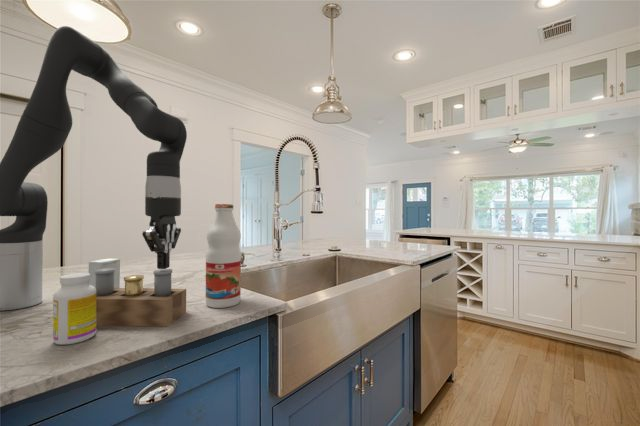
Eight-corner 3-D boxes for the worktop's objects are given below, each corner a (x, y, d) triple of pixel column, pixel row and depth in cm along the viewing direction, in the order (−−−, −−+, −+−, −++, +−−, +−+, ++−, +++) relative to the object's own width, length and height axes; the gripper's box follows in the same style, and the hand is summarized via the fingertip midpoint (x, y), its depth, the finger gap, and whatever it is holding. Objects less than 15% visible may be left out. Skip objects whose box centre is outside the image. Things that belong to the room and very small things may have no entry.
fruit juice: (244, 298, 85) (245, 204, 85) (235, 309, 76) (236, 204, 75) (212, 297, 85) (213, 204, 85) (199, 308, 76) (200, 203, 75)
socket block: (74, 325, 64) (74, 298, 64) (104, 311, 73) (104, 287, 73) (167, 326, 64) (167, 299, 64) (186, 312, 73) (186, 288, 73)
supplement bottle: (104, 331, 61) (104, 271, 61) (79, 346, 54) (79, 279, 54) (72, 331, 61) (72, 271, 61) (43, 346, 54) (43, 279, 54)
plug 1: (89, 301, 66) (90, 271, 66) (103, 296, 70) (103, 268, 70) (106, 302, 66) (107, 271, 66) (119, 296, 70) (119, 268, 70)
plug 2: (149, 302, 66) (149, 272, 66) (159, 297, 70) (159, 268, 70) (166, 302, 66) (166, 272, 66) (175, 297, 70) (175, 269, 70)
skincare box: (100, 306, 76) (100, 262, 76) (87, 305, 77) (87, 261, 77) (120, 300, 82) (120, 258, 82) (108, 299, 83) (108, 258, 83)
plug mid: (119, 308, 66) (119, 278, 66) (131, 303, 70) (131, 274, 70) (136, 309, 66) (136, 278, 66) (147, 303, 70) (147, 274, 70)
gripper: (163, 197, 75) (163, 263, 75) (129, 194, 62) (129, 274, 62) (191, 197, 75) (191, 263, 75) (163, 194, 62) (163, 274, 62)
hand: (163, 268), depth 68 cm, fingers closed
